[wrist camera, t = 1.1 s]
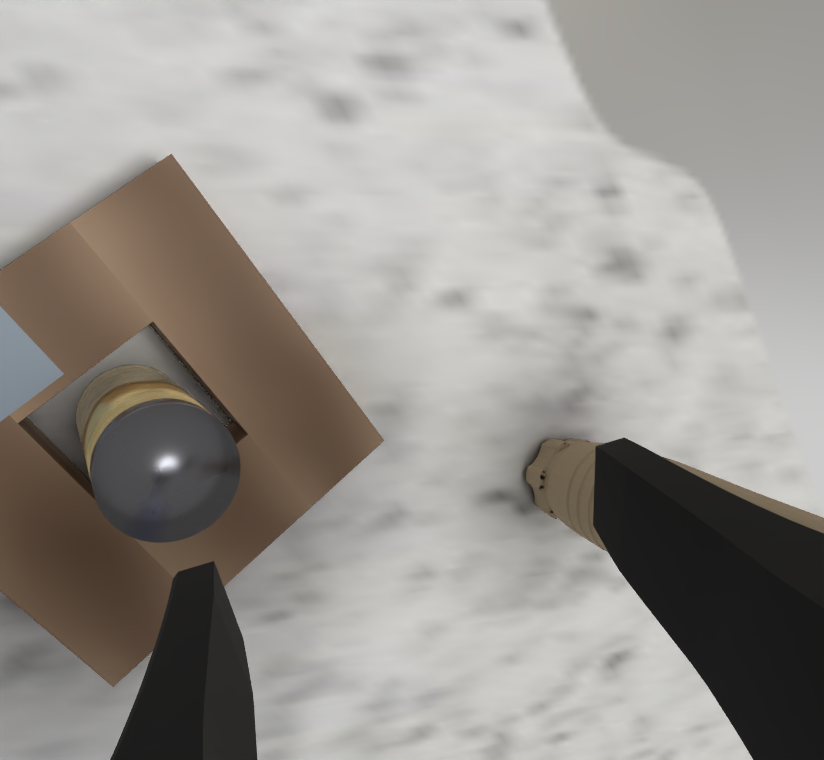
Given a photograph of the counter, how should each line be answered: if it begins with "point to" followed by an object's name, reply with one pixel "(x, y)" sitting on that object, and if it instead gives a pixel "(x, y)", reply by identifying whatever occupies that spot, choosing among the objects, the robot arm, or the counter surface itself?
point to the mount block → (214, 369)
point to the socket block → (21, 367)
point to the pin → (155, 455)
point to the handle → (574, 488)
